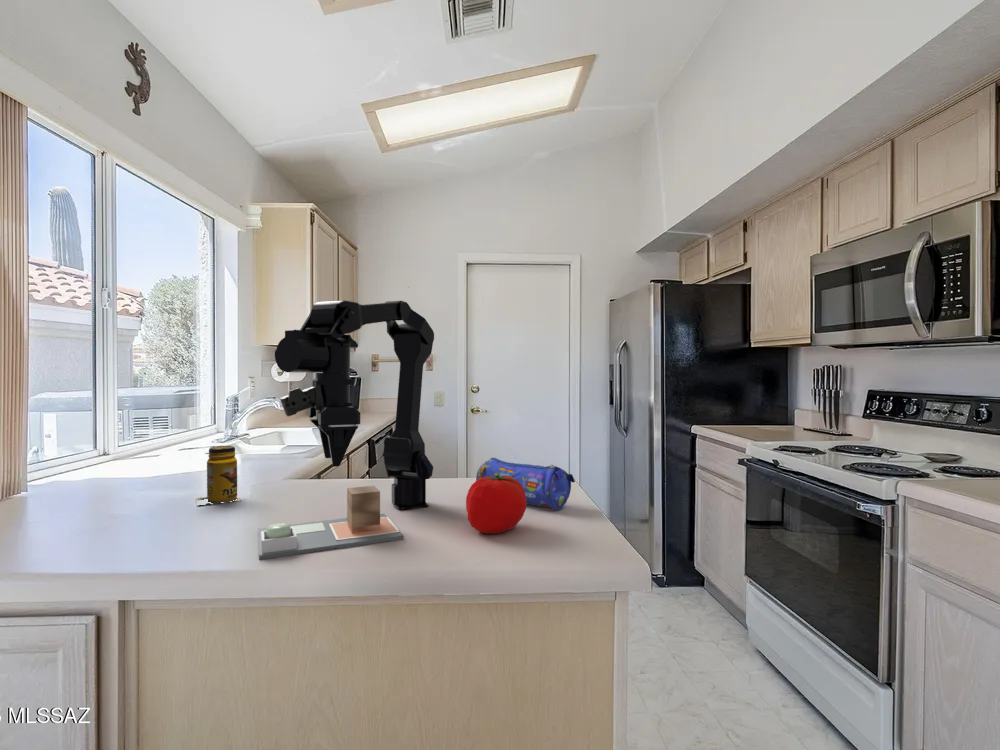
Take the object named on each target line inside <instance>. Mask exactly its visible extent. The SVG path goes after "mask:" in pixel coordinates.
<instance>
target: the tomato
mask: <svg viewBox="0 0 1000 750" xmlns="http://www.w3.org/2000/svg"><path fill="white" fill-rule="evenodd" d="M484 476H485V475H484ZM499 476H500V475H496V477H491V476H487V477H482V478H480V479H478V480H477V481H476V480H475V482H473V483H472V484H471V486H470V487H469V488H468V492H467V494H466V498H465V509H466V513H467V516H466V517H467V520H468V523H469V525H470V526H471V528H473V529H474V530H476V531H477V532H479V533H483V534H487V535H488V534H501V533H502V534H503V532H507V531H509V530H511V529H513V528H515V526H517V524H519V522H520V521H521V520H522V519H523V516H524V515H525V512H526V509H527V504H526V503H527V501H526V496H525V492H524V488H523V487H522V485H521V484H520V482H519V481H517V480H516V479H514V478H512V477H510V476H500V477H499Z"/></svg>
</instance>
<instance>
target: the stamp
mask: <svg viewBox="0 0 1000 750" xmlns="http://www.w3.org/2000/svg"><path fill="white" fill-rule="evenodd" d="M380 514H381V491H380V489H379V488H377V487H376V486H375V485H367V486H366V485H365V486H356V487H348V488H346V515H347V516H346V518H347V526H348V528H349V530H350V531H351V533H352V534H353V533H360V532H368V531H376V530H380Z"/></svg>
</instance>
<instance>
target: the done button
mask: <svg viewBox="0 0 1000 750" xmlns="http://www.w3.org/2000/svg"><path fill="white" fill-rule="evenodd" d="M290 525H291V524H290V523H283V522H281V523H273V524H270V525H268V526H266V527H267V539H274V538H282V537H290Z"/></svg>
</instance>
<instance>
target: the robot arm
mask: <svg viewBox="0 0 1000 750" xmlns="http://www.w3.org/2000/svg"><path fill="white" fill-rule="evenodd" d="M397 321H402V322H403V323H400V324H399V323H398V322H397ZM384 322H385V323H386V333H387V335H389V337H390V338H391V339H392V340H393V350H394V353H395V355H396V357H397V358H398V361H399V374H398V375H399V378H398V385H397V386H398V389H397V399H396V401H397V402H396V413H395V427H394V430H393V432H391V435H390V436H386V437H385V438H384V441H383V453H382V455H381V456H382V457H383V464H384V467H385V471H386V475H387V477H388V478H393V483H391V504H393V505H394V507H395V508H396V509H397V510H399V511H400V510H401V511H402V510H409V509H418V508H426V507H429V503H428V502H426V501H427V498H426V497H427V495H426V494H427V493H426V491H427V486H426V485H427V483H426V482H427V480H429V479H430V478H431V477H433V473H434V466H433V464H432V462H431V461H430V460H429V458H428V457H427V455H426V447H425V446H426V444H425V441H424V439H423V438H422V435H421V433H420V432H419V431H420V430H419V429H420V428H419V425H420V412H421V399H422V386H423V373H424V370H423V369H424V364H425V363H426V362H427V360H428V359H429V357H430V356H431V354H432V351H433V345H434V341H435V332H434V330H433V328H432V327H431V325H430V324H429V323H428V321H427V319H426V318H425V317H424V316H422V315H421V314H419V313H417V312H416V311H414V310H413V309H412V307H411V306H410V305H409V303H408V302H406V301H404V300H392V301H391V300H390V301H389V300H388V301H385V302H379V303H368V304H360V303H359V302H356V301H352V300H332V301H331V300H330V301H317V302H314V304H313V305H312V308H311V310H310V312H309V314H308V316H307V318H306V319H305V321H304V323H303V324H302V326H301V328H300V329H285V330H284V337H283V338H282V339H280V341H279V342H278V344H277V346H276V349H275V350H274V361H275V362H276V363H275V364H276V365H277V367H278V368H279V369H280V370H281V371H282V372H284V373H311V374H312V373H315V378H314V379H313V380H312V381H311V382H312V384H311V386H310V387H307V388H305V389H301V388H300V387H297V388H294V389H292V390H289V391H288V394H287V395H284V396H281V397H280V398H279V401H280V403H281V406H282V408H283V411H284V413H285V416H286V417H291V416H295V415H297V413H299V412H302V411H305V410H308V412H307V413H308V414H307V415H308V418H310V419H309V421H310V422H311V423H312V424H313V425H314V426H315V427H316V428H317V429H318V432H319V437H320V440H321V441H320V442H321V445H322V450H323V453H324V458H325V459H331V463H332V466H333V467H340V466H341V464H342V462H343V459H344V457H345V454H346V452H347V450H348V449H349V448H348V447H349V446H350V443H351V441H352V440H353V438H354V436H355V433H356V432H357V430H358V428H359V425H361V412H360V411H359V410H358V409H357V408H356V407H354V406H353V403H352V402H351V401H350V400H351V397H350V393H351V391H350V390H351V389H350V388H351V385H353V379H352V378H351V373H350V372H351V349H354V348H355V349H357V348H359V344H358V343H357V341H356V340H354V339H353V337H352V336H351V333H354V332H355V331H358V330H360V329H361V328H362V327H363V326H364V325H369V324H370V325H371V324H377V323H384Z"/></svg>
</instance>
